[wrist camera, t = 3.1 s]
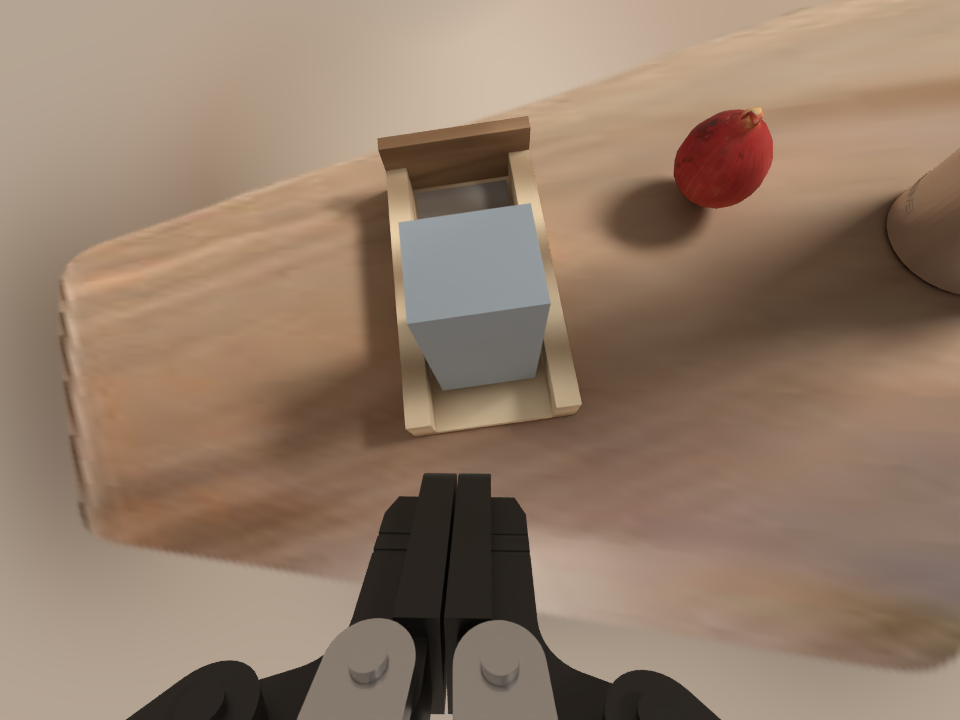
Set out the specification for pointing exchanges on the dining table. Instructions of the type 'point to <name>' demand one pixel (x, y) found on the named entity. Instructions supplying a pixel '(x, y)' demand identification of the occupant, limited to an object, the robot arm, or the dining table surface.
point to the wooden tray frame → (459, 189)
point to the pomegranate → (724, 158)
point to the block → (476, 294)
